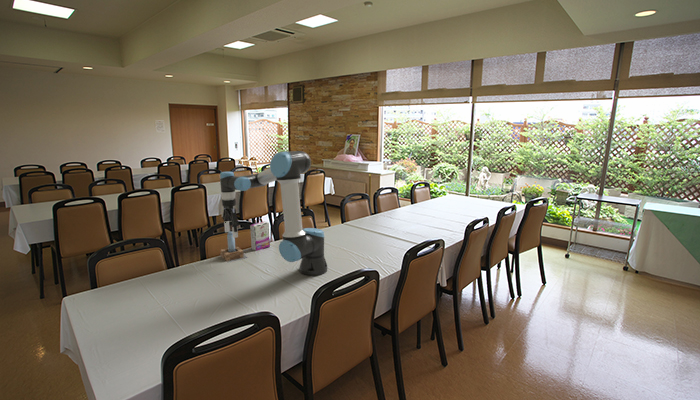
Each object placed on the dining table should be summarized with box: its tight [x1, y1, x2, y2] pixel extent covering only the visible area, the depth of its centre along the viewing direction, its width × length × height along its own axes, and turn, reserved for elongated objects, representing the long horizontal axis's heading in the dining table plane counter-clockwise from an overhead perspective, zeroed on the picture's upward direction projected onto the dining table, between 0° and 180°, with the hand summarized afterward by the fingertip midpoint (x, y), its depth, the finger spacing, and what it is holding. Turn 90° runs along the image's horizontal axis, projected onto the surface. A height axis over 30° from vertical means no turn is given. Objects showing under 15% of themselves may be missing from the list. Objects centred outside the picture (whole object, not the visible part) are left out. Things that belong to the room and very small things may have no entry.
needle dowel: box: [226, 230, 236, 253], centre depth 203 cm, size 4×4×16 cm
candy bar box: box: [250, 221, 271, 252], centre depth 219 cm, size 11×5×16 cm, turn 143°
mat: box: [219, 253, 249, 263], centre depth 205 cm, size 14×12×1 cm
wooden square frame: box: [220, 246, 245, 262], centre depth 204 cm, size 10×10×4 cm
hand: (231, 234), depth 201 cm, fingers open, 13 cm apart
